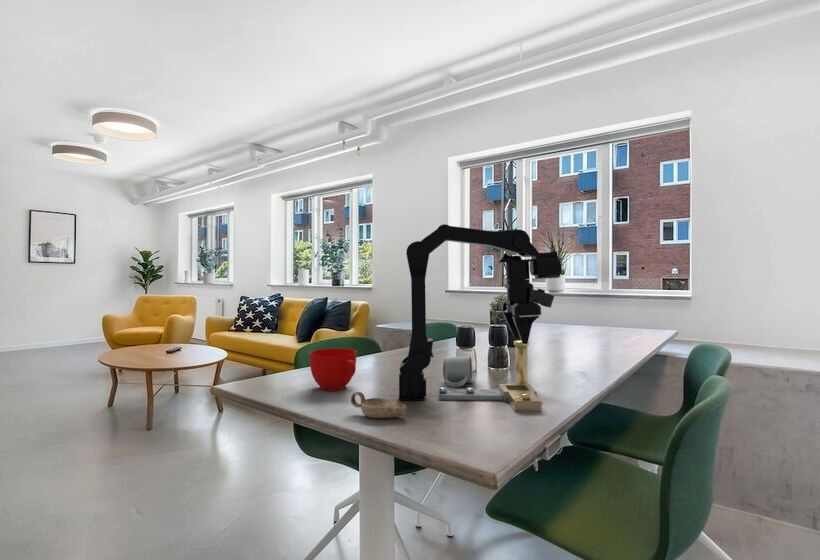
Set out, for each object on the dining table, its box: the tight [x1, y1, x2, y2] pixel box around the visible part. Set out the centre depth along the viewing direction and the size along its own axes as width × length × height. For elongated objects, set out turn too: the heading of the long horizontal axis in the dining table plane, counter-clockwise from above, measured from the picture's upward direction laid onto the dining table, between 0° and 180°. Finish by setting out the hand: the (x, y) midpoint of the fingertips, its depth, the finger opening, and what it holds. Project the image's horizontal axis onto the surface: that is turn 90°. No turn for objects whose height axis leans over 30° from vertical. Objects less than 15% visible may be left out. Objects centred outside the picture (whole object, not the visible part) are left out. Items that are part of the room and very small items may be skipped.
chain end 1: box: [438, 386, 526, 403], centre depth 111 cm, size 24×8×2 cm, turn 87°
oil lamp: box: [350, 391, 407, 419], centre depth 96 cm, size 13×8×5 cm, turn 67°
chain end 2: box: [498, 383, 542, 413], centre depth 107 cm, size 8×16×3 cm, turn 177°
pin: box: [513, 339, 530, 384], centre depth 120 cm, size 4×4×13 cm
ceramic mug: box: [442, 355, 473, 388], centre depth 126 cm, size 11×8×8 cm
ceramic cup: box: [309, 347, 357, 391], centre depth 120 cm, size 13×17×10 cm
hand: (520, 341), depth 110 cm, fingers open, 9 cm apart
